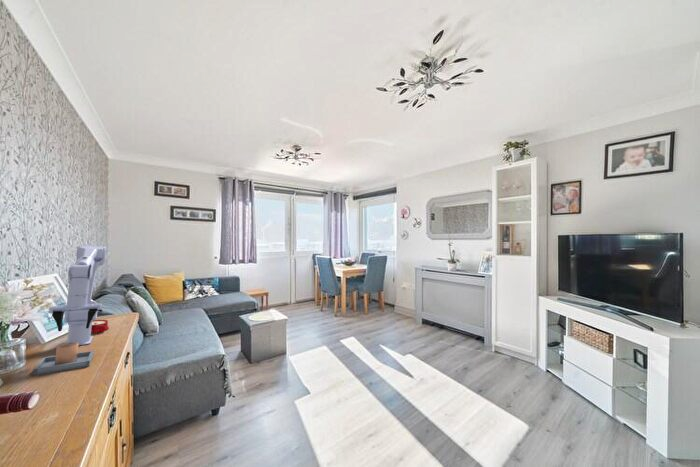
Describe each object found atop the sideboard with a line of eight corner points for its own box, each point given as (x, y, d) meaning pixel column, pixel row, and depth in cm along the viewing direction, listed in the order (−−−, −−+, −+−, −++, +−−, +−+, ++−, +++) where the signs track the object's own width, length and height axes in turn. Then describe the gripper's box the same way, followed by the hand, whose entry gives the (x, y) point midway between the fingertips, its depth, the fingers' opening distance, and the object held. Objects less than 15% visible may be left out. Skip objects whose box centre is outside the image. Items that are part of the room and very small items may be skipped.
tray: (42, 362, 98) (43, 357, 98) (93, 355, 106) (93, 350, 106) (33, 375, 89) (33, 369, 89) (89, 366, 98) (89, 360, 98)
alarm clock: (111, 318, 141) (106, 319, 129) (109, 331, 139) (104, 333, 127) (84, 320, 135) (76, 322, 123) (82, 333, 134) (74, 336, 122)
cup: (56, 361, 98) (58, 343, 98) (78, 358, 102) (80, 341, 102) (52, 367, 94) (54, 349, 94) (75, 364, 97) (77, 346, 98)
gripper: (48, 297, 98) (43, 334, 97) (101, 295, 107) (97, 329, 106) (53, 294, 104) (49, 329, 103) (103, 292, 113) (99, 324, 112)
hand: (74, 329), depth 105 cm, fingers open, 7 cm apart
